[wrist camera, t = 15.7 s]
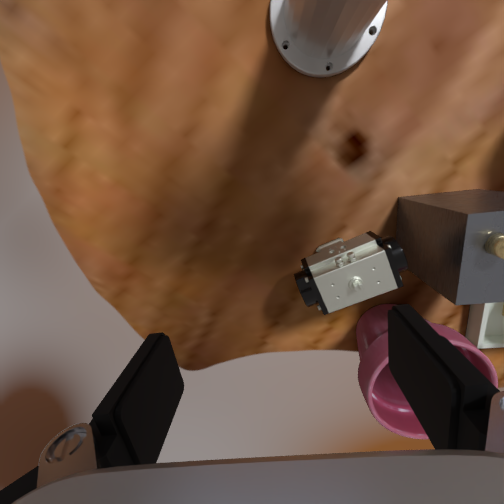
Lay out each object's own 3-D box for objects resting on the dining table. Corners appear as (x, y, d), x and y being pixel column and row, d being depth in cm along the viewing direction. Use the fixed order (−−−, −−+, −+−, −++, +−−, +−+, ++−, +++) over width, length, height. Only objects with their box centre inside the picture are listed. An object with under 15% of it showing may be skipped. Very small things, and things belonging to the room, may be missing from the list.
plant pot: (332, 297, 40) (359, 353, 28) (428, 278, 38) (502, 330, 26) (346, 370, 44) (375, 447, 32) (433, 357, 43) (499, 433, 30)
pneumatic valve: (376, 249, 38) (423, 286, 26) (300, 279, 40) (313, 325, 28) (364, 215, 36) (408, 237, 25) (286, 248, 38) (293, 283, 27)
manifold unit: (398, 197, 35) (482, 217, 21) (478, 189, 34) (620, 204, 20) (394, 262, 38) (466, 317, 24) (468, 256, 37) (587, 310, 23)
